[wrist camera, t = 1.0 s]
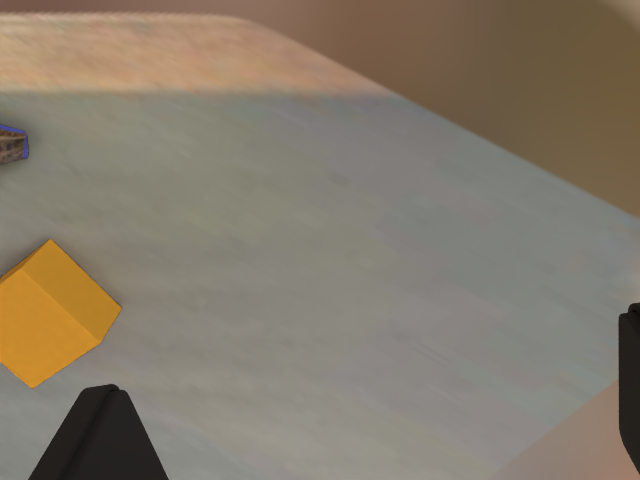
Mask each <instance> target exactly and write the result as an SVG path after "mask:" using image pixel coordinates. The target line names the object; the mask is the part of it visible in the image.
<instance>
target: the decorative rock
mask: <svg viewBox="0 0 640 480" xmlns="http://www.w3.org/2000/svg"><path fill="white" fill-rule="evenodd" d="M28 151H29V145H28V136H27V134H26V132H25V131H23V130H19V129H15V128H12V127H8V126H4V125H0V165H1V164H4V163H7V162H11V161H16V160H20V159H27V157H28V154H29V152H28Z"/></svg>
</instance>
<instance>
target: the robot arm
mask: <svg viewBox="0 0 640 480" xmlns="http://www.w3.org/2000/svg"><path fill="white" fill-rule="evenodd" d="M619 430H620V435H621V438H622V441H623V444H624V446H625V448H626V450H627V452H628V454H629V455H630V458H631V460H632V461H633V463H634V465H635V467H636V469H637V471H638V472H639V474H640V303H634V304H631V305H630V306H629V309H628V313H623V314H620V316H619ZM28 480H169V479H168V477H167V475H166V473H165V471H164V469H163V467H162V464H161V462H160V460H159V458H158V456H157V454H156V452H155V450H154V448H153V445H152V443H151V441H150V439H149V437H148V435H147V433H146V431H145V428H144V426H143V424H142V422H141V420H140V418H139V416H138V414H137V412H136V409H135V407H134V405H133V403H132V401H131V399H130V397H129V395H128V393H127V392H126V391H125V390H120V389H119V388H118V387H117V386H116V385H114V384H109V385H103V386H96V387H90V388H86V389H84V390H83V391H82V392H81V393H80V395H79V396H78V398H77V400H76V401H75V403H74V405H73V406H72V408H71V409H70V411H69V413H68V414H67V416H66V418H65V419H64V421H63V423H62V424H61V426H60V428H59V429H58V431H57V433H56V434H55V436H54V438H53V439H52V441H51V443H50V444H49V446H48V448H47V449H46V451H45V453H44V454H43V456H42V458H41V459H40V461H39V462H38V464H37V466H36V467H35V469H34V471H33V472H32V474H31V476H30V477H29V479H28Z"/></svg>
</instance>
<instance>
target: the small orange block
mask: <svg viewBox="0 0 640 480" xmlns="http://www.w3.org/2000/svg"><path fill="white" fill-rule="evenodd" d="M121 309H122V308H121V307H120V306H119V305H118V304H117V303H116V302H115V301H114V300H113V299H112V298H111V297H110V296H109V295H108V294H107V293H106V292H105V291H104V290H103V289H102V288H101V287H100V286H99V285H98V284H97V283H96V282H95V281H94V280H93V279H91V278H90V277H89V276H88V275H87V274H86V273H85V272H84V271H83V270H82V269H81V268H80V267H79V266H78V265H77V264H76V263H75V262H74V261H73V260H72V259H71V258H70V257H69V256H68V255H67V254H66V253H65V252H64V251H63V250H62V249H61V248H60V247H59V246H58V245H57V244H56V243H55V242H53V241H52V240H51V239H49V240H48V241H47V242H46V243H44V244H43V245H42V246H40V247H39V248H38V249H37V250H35V251H34V252H33V253H31V254H30V255H29V256H28V257H26V258H25V259H24V260H23V261H21V262H20V263H19V264H17V265H16V266H15V267H14V268H12V269H11V270H10V271H8V272H7V273H6V274H5V275H3V276H2V277H1V278H0V362H1V363H2V364H3V365H5V366H6V367H7V368H8V369H9V370H10V371H12V372H13V373H14V374H15V375H16V376H18V377H19V378H20V379H21V380H22V381H23V382H25V383H26V384H27V385H28V386H29V387H30V388H32V389H33V388H34V387H36V386H37V385H39V384H40V383H42V382H43V381H45V380H46V379H48V378H49V377H51V376H52V375H54V374H55V373H57V372H58V371H60V370H61V369H63V368H64V367H66V366H67V365H68V364H70V363H71V362H73V361H74V360H76V359H77V358H79V357H80V356H82V355H83V354H85V353H86V352H88V351H89V350H91V349H92V348H94V347H95V346H97V345H98V344H100V343H101V341H102V339H103V338H104V336H105V335H106V333H107V331H108V330H109V328H110V327H111V325H112V324H113V322H114V320H115V319H116V317H117V316H118V314H119V313H120V311H121Z"/></svg>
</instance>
